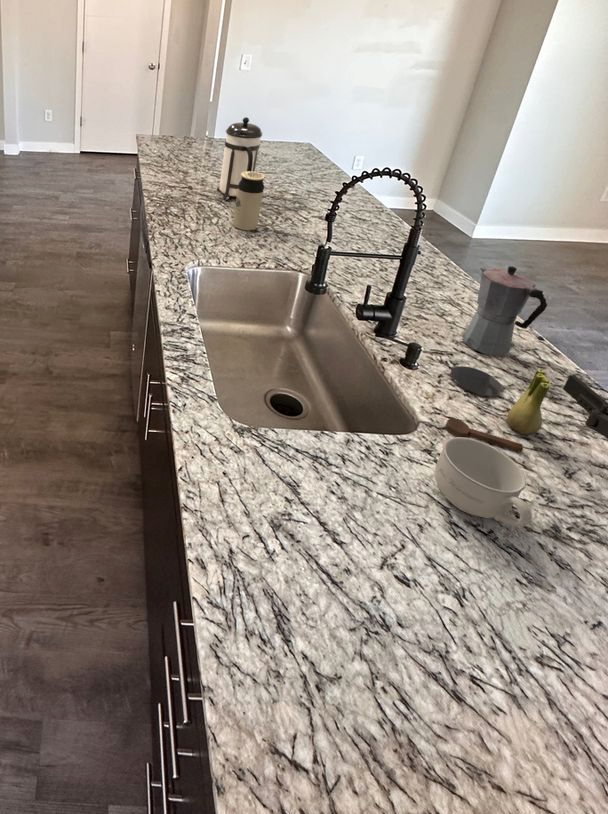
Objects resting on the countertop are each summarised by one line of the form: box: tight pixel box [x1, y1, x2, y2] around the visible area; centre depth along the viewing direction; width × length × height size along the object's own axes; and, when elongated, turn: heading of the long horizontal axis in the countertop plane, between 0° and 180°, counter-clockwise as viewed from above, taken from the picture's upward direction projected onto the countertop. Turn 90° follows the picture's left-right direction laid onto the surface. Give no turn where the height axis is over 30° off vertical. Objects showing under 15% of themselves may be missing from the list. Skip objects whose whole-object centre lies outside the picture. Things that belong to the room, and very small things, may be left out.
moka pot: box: [462, 265, 548, 357], centre depth 118 cm, size 10×15×20 cm, turn 18°
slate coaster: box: [449, 365, 503, 399], centre depth 111 cm, size 9×9×1 cm
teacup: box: [434, 436, 533, 528], centre depth 82 cm, size 14×11×8 cm
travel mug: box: [232, 171, 266, 231], centre depth 175 cm, size 8×8×18 cm
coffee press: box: [216, 116, 263, 201], centre depth 198 cm, size 17×16×30 cm
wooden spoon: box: [444, 418, 524, 454], centre depth 97 cm, size 12×4×1 cm, turn 63°
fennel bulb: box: [505, 368, 550, 435], centre depth 97 cm, size 6×5×12 cm
